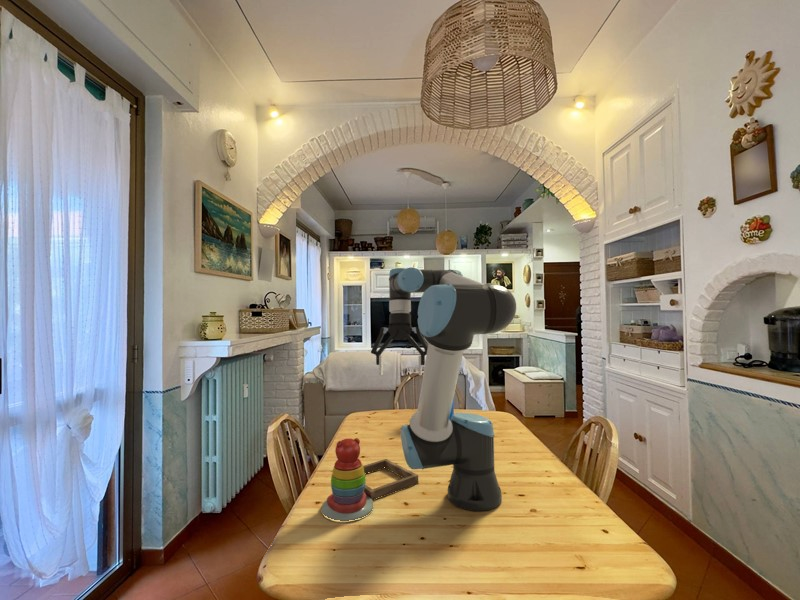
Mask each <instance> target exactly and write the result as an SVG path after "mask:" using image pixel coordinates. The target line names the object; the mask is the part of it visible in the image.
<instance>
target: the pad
mask: <svg viewBox="0 0 800 600" xmlns="http://www.w3.org/2000/svg"><path fill="white" fill-rule="evenodd" d="M366 499H367V501H366V504H365V506H364V507H363V508H362V509H361V510H359V511H356V512H353V513H339V512H336V511H334V510H332V509H331V508H330V507H329V506H328V504H327V499H326V500H325V501H324V502H323V503H322V504H321V514H322V513H323V514H324V515H325V516H327V517H328V518H331V519H334V520H340V521H349V520H355V519H358V518H362V517H364V516H366V515H368V514H369V513H370V512H371V511H372V512H373V510H374V500H372V499H371V498H370V497H369V496H367V495H366ZM372 509H373V510H372ZM372 512H371V513H372ZM371 513H370V514H371ZM370 514H369V515H370ZM369 515H368V516H369Z"/></svg>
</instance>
